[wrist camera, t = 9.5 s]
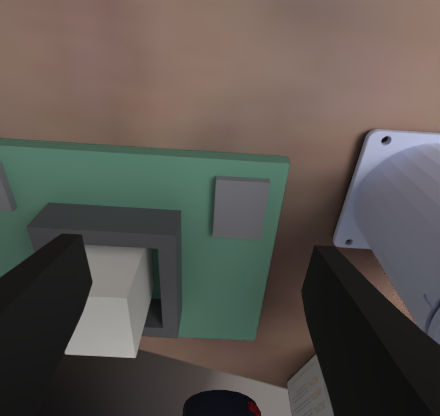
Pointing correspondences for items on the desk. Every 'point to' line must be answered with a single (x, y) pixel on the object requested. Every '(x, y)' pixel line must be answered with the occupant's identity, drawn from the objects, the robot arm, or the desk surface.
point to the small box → (309, 391)
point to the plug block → (114, 302)
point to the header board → (154, 222)
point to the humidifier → (220, 404)
